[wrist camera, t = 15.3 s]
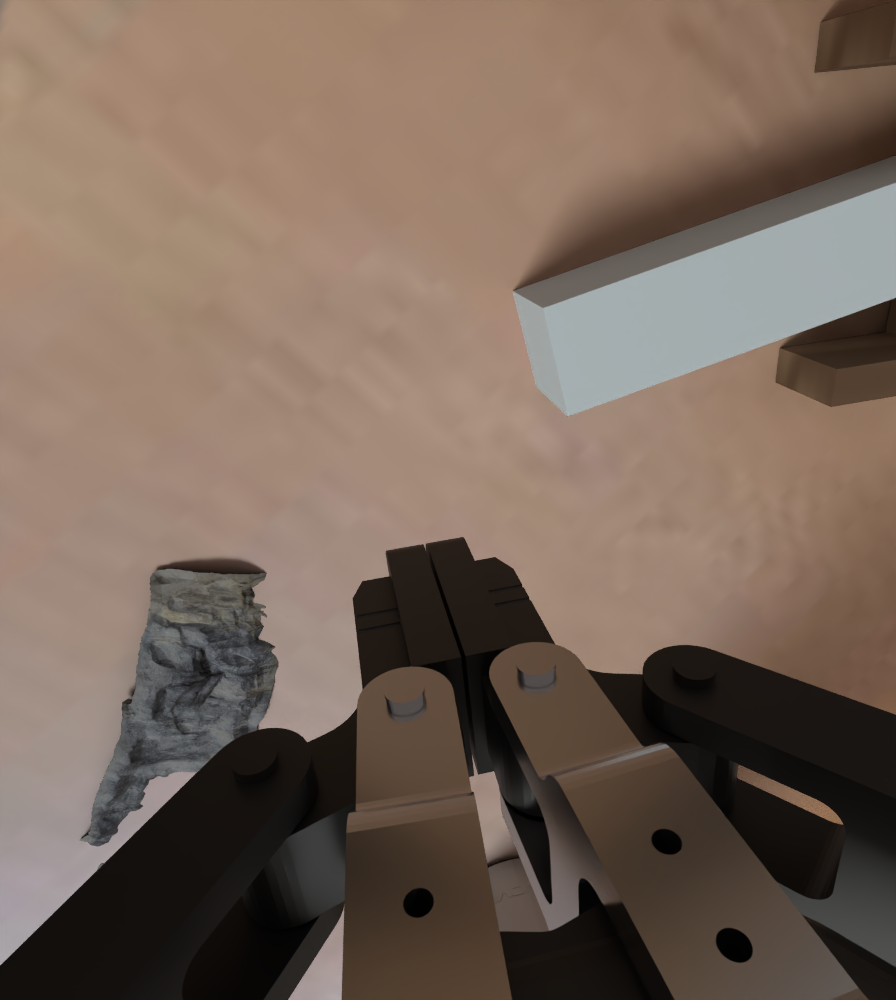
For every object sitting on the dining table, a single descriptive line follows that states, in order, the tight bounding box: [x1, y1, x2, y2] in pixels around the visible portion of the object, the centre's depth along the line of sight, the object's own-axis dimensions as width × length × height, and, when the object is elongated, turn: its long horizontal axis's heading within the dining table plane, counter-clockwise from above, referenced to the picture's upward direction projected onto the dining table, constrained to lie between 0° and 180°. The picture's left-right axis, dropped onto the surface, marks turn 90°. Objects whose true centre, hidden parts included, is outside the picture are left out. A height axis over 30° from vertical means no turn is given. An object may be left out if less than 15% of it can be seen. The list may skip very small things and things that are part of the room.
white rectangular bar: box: [513, 155, 896, 416], centre depth 25 cm, size 4×16×4 cm, turn 107°
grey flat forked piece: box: [79, 569, 278, 869], centre depth 32 cm, size 21×7×2 cm, turn 157°
